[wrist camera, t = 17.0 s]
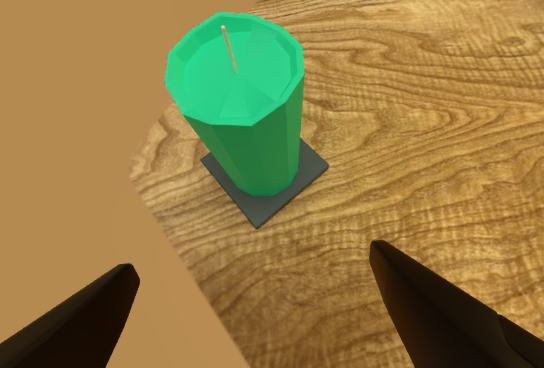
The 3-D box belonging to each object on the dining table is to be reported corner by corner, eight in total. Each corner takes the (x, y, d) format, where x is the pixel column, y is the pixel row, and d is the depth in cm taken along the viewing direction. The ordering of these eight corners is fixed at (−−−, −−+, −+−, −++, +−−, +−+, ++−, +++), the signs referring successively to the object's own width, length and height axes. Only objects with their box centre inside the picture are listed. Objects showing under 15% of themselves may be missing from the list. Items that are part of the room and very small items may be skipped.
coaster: (328, 168, 19) (329, 165, 19) (257, 229, 18) (256, 228, 18) (269, 112, 22) (268, 107, 21) (203, 163, 21) (199, 159, 20)
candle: (223, 143, 20) (135, -4, 9) (286, 125, 20) (280, -45, 9) (237, 206, 18) (148, 119, 7) (307, 185, 18) (334, 66, 7)
